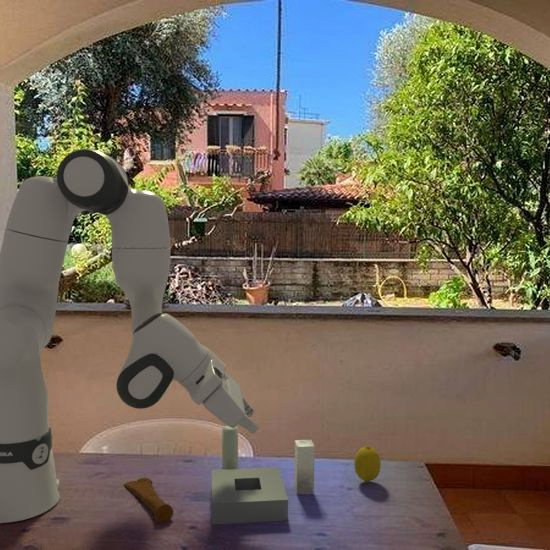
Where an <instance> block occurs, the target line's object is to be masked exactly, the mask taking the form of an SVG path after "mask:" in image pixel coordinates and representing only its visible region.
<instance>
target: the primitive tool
mask: <svg viewBox="0 0 550 550" xmlns="http://www.w3.org/2000/svg"><path fill="white" fill-rule="evenodd" d="M136 480H137V481H136ZM136 480H133V481H129V482H124V483H125V484H124V483H123V486H124V485H125V486H126V487H127V488H128V489H129V490H130V491H131V492H130V491H129V490H128V489H127V488H126V487H125V486H124V487H125V488H126V489H127V490H128V491H129V492H130V493H132V494H133V493H134V494H135V495H136V496H137V497H136V498H138V499H139V500H140V501H141V502H142V503H143V504H144V505H145V507H147V508H149V510H151V512H152V513H153V514H154V521H155V522H156V523H157V524H164V523H167V522H169V521H171V519H172V518H173V515H174V509H173V506H171V505H170V504H167V503H165V502H164V500H163V499H161V497H160V495H158V494H157V492H156V490H155V488H154V487H153V481H152V480H151V479H150V478H148V477H140V478H138V479H136ZM134 494H133V495H134ZM135 495H134V496H135Z"/></svg>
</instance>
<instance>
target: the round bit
mask: <svg viewBox="0 0 550 550" xmlns="http://www.w3.org/2000/svg"><path fill="white" fill-rule="evenodd" d="M221 438H222V439H221V441H222V444H221V447H222V449H221V451H222V453H221V454H222V455H221V456H222V457H221V458H222V459H221V470H222V469H239V427H238V425H237V426H236V427H235V428H231V427H229V426H227V425H224V426H222V429H221Z"/></svg>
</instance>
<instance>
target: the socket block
mask: <svg viewBox="0 0 550 550" xmlns="http://www.w3.org/2000/svg"><path fill="white" fill-rule="evenodd" d="M284 521H285V522H286V521H289V498H288V495H287V491H286V488H285V485H284V481H283V477H282V474H281V470H280V467H279V466H272V467H269V466H268V467H252V468H250V467H249V468H248V467H247V468H238V469H222V468H221V469H212V470H211V526H212V525H214V526H215V525H231V524H233V525H234V524H250V523H265V522H267V523H268V522H269V523H270V522H284Z"/></svg>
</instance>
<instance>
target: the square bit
mask: <svg viewBox="0 0 550 550" xmlns="http://www.w3.org/2000/svg"><path fill="white" fill-rule="evenodd" d="M293 471H294V474H293V475H294V478H293V480H294V483H293V485H294V486H293V488H294V489H295V494H296V495H297V494H299V495H312V494H313V495H314V494H315V444H314V442H313V441H312V439H297V440H294V470H293Z"/></svg>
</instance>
